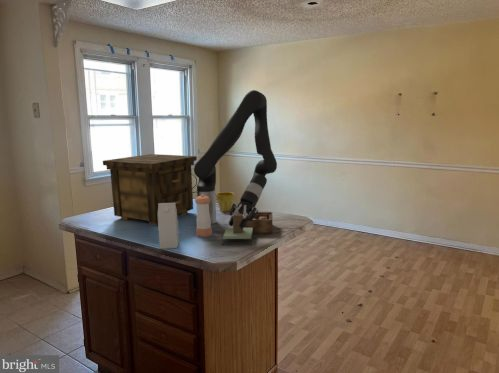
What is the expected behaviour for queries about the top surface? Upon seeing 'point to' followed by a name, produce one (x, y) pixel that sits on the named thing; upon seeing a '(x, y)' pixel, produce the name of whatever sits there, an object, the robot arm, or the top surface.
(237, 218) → the lid
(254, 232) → the crate
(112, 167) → the crate
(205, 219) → the pepper shaker
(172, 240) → the milk carton
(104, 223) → the top surface
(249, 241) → the mat
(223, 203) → the plant pot
